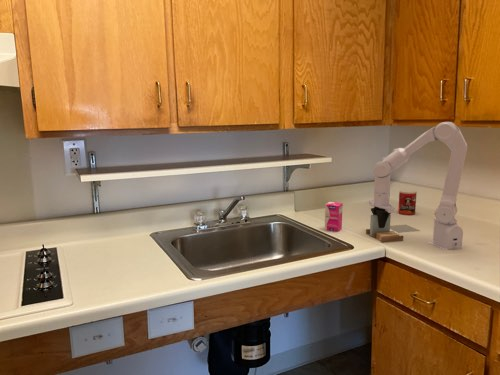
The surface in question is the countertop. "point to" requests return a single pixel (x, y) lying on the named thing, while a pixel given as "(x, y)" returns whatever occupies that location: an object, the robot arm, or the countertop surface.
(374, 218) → the grey square slab
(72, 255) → the countertop surface
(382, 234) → the upper offcut
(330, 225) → the supplement box
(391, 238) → the walnut rack
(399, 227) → the rubber mat
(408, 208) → the canned food
